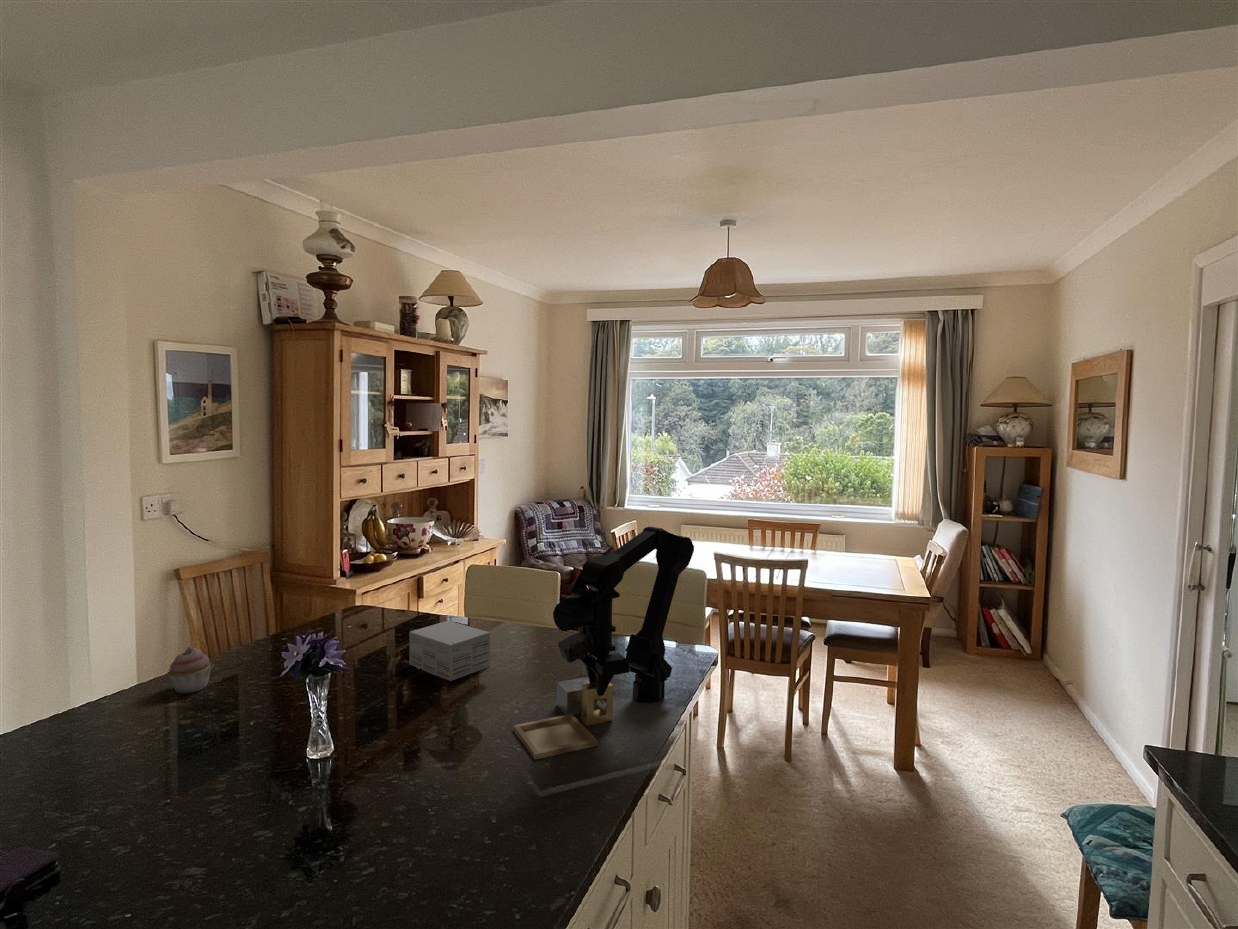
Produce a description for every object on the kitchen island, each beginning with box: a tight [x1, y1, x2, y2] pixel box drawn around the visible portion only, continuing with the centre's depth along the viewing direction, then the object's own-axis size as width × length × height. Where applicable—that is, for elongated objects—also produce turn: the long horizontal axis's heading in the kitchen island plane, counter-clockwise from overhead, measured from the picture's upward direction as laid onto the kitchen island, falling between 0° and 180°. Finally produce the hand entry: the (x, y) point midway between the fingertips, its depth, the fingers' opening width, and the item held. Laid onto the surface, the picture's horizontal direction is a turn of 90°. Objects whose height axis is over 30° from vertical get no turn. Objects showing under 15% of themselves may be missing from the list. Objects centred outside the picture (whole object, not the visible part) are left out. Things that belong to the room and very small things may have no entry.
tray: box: [512, 714, 598, 761], centre depth 134 cm, size 13×13×2 cm
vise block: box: [556, 676, 608, 716], centre depth 145 cm, size 11×14×6 cm
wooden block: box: [580, 682, 614, 726], centre depth 141 cm, size 6×3×8 cm, turn 117°
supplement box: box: [408, 620, 491, 682], centre depth 172 cm, size 17×13×9 cm
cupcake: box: [166, 646, 215, 694], centre depth 155 cm, size 9×9×10 cm
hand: (597, 692), depth 141 cm, fingers closed on wooden block, 3 cm apart
